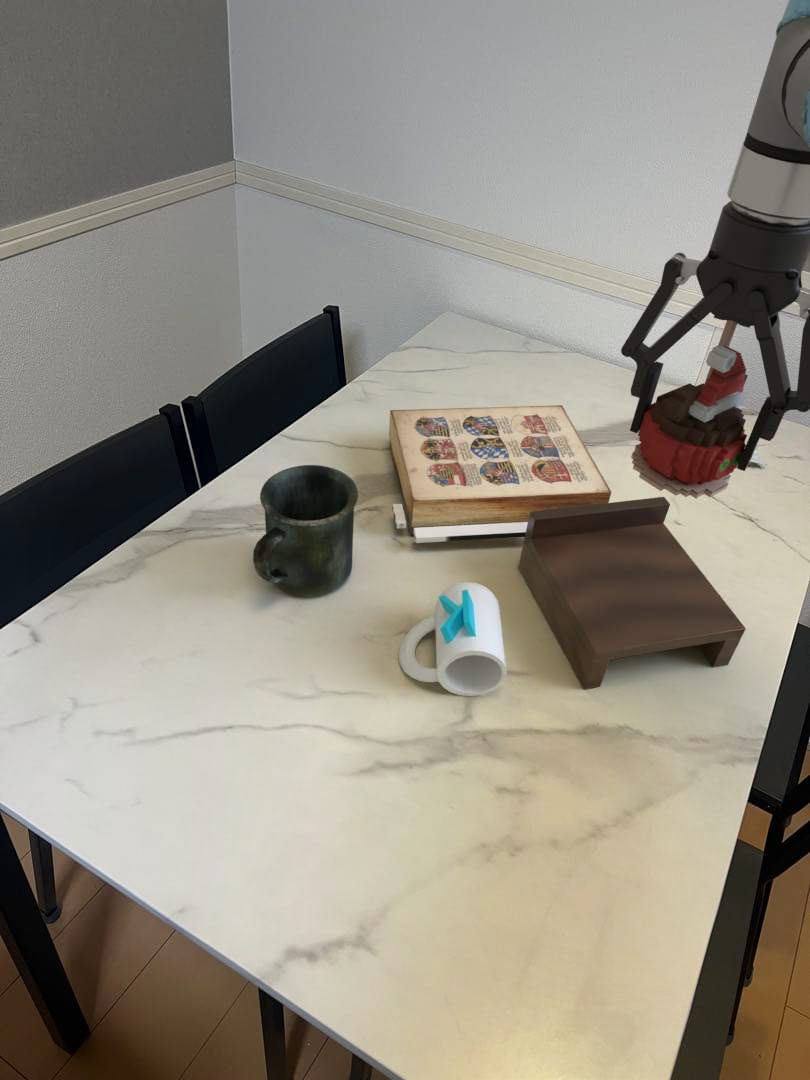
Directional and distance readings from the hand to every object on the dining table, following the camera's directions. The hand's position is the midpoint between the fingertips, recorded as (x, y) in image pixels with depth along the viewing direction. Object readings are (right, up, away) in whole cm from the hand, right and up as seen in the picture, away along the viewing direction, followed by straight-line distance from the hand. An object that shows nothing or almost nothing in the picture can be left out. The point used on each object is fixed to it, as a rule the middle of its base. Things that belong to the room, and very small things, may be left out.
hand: (689, 444), depth 78 cm
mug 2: (-23, -22, +11) cm, 34 cm away
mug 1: (-40, -14, +19) cm, 47 cm away
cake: (0, -3, +3) cm, 4 cm away
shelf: (-2, -18, +18) cm, 26 cm away
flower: (+25, +4, +47) cm, 54 cm away
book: (-17, -3, +35) cm, 39 cm away
